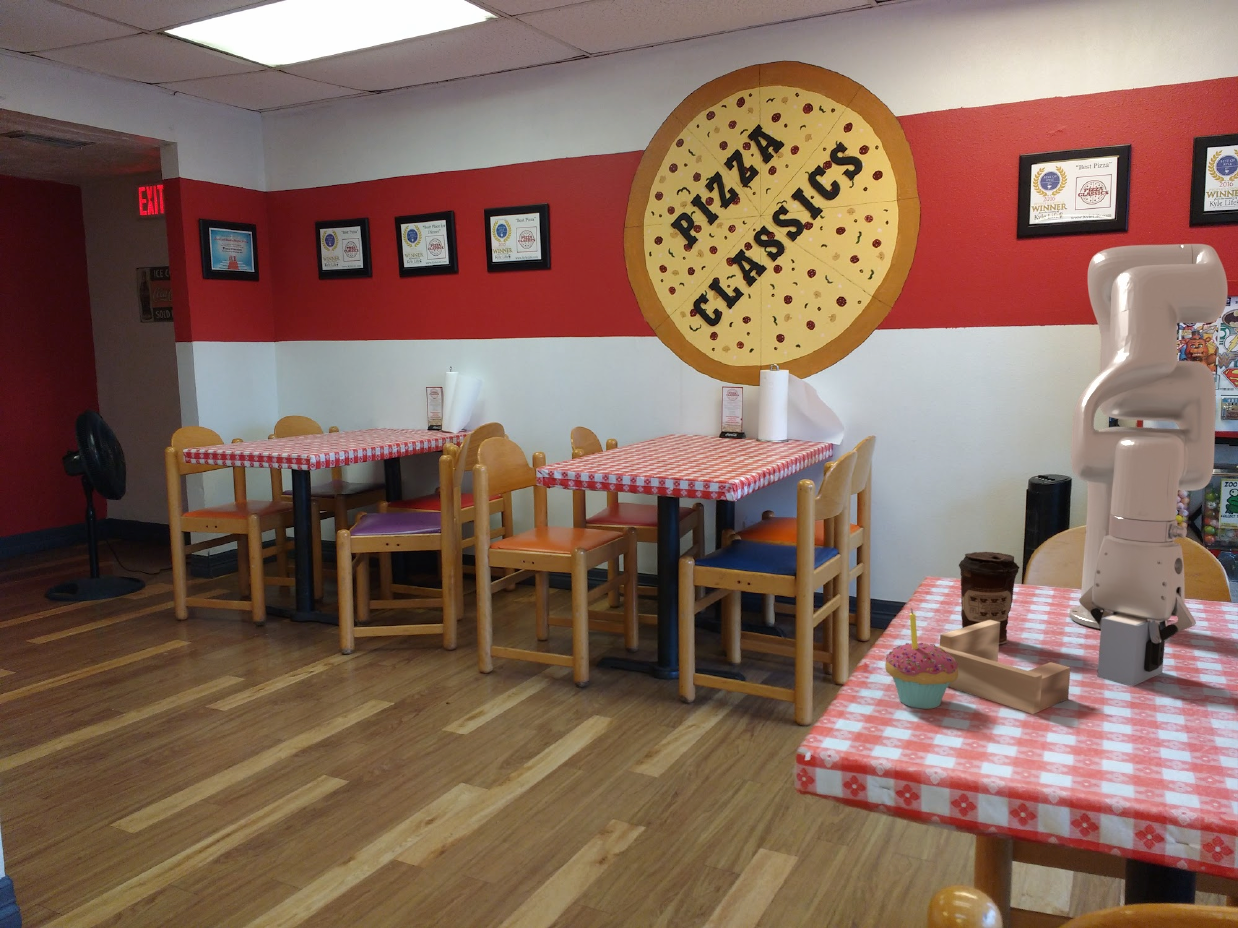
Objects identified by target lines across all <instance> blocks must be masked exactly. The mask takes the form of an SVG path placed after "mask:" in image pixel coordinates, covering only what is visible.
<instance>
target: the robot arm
mask: <svg viewBox="0 0 1238 928" xmlns="http://www.w3.org/2000/svg"><path fill="white" fill-rule="evenodd" d="M1087 288H1088V296H1089V301H1090V305H1091V308H1092V310H1093V314H1094V316H1095V319H1096V322H1097V325H1098V330H1099V333H1100V350H1099V351H1100V354H1099V372H1098V373H1099V374H1098V375H1096V377H1094V378H1093V379H1092V381H1090V382H1089V384H1088V385H1087V386H1086V387H1085V389H1084V390H1083V391H1082V393H1081V394H1080V397H1079V398H1078V401H1077V402H1076V405H1075V409H1074V411H1073V415H1072V427H1071V428H1072V429H1071V430H1072V431H1071V447H1070V460H1071V461H1070V462H1071V463H1070V464H1071V469H1072V471H1073V473H1074V475H1075V476H1076V477H1077V478H1078V479H1080V480H1081V481H1083V482H1086V484H1087V503H1086V504H1087V505H1086V507H1087V508H1086V524H1085V538H1084V549H1083V550H1084V551H1083V552H1084V553H1083V563H1082V564H1083V565H1082V579H1081V592H1080V593H1081V594H1080V598H1079V599H1078V600H1079V601H1078V603H1079V604H1080V605H1075V606H1073V607H1071V608H1070V609H1069V611H1068V612H1069V613H1068V617H1069V618H1070V619H1071V620H1072V621H1074V622H1075V623H1077V624H1081V625H1083V626H1086V627H1089V628H1093V629H1098V630H1100V631H1101V621H1102V618H1104V617H1107V616H1110V615H1112V614H1116V613H1123V614H1127V615H1132V616H1137V617H1141V618H1146V619H1147V620H1148V626H1149V632H1150V641H1148V642H1147V643H1146V650H1145V663H1144V670H1145V671H1148V672H1151V671H1153V670H1156V669H1158V668H1159V666H1161V665H1162V663H1163V664H1164V659H1163V656H1165V647H1164V644H1166V640H1168V639H1170V638H1171V637H1173V636H1175V635H1176V634H1178V633H1179V632H1181V631H1184V630H1187V629H1189V628H1191V627H1194V626H1196V625H1197V620H1196V619H1195V618H1194V616H1193V615H1192V613H1191V611H1190V610H1189V608H1188V606H1187V605H1186V603H1185V595H1186V594H1185V591H1186V590H1185V589H1186V588H1185V587H1186V585H1185V583H1186V582H1185V581H1186V580H1185V565H1184V564H1185V563H1184V556H1183V548H1182V545H1181V544H1180V543H1177V542H1175V541H1176V540H1177V539H1178V538H1183V539H1184V538H1186V537H1187V534H1188V531H1187V529H1188V528H1186V527H1183V526H1180V525H1178V520H1177V519H1176V518H1177V510H1178V509H1177V507H1178V496H1179V494H1178V493H1179V491H1187V492H1188V491H1199V490H1203V489H1204V488H1205V487H1206V486H1208V485H1209V483H1210V481H1211V480H1212V477H1213V473H1214V465H1215V463H1214V462H1215V441H1216V439H1215V438H1216V437H1215V436H1216V435H1215V434H1216V433H1215V431H1216V406H1217V403H1216V402H1217V398H1216V397H1217V396H1216V395H1217V394H1216V381H1215V377H1214V374H1213V371H1212V370H1211V368H1209V367H1208V366H1207V365H1206V364H1204V363H1202V362H1199V361H1193V360H1178V354H1177V353H1178V343H1177V342H1178V324H1208V323H1213V322H1215V321H1218V319H1220V318H1221V316H1222V315H1223V313H1224V312H1225V308H1226V306H1227V303H1228V302H1227V301H1228V280H1227V276H1226V271H1225V269H1224V266H1223V263H1222V261H1221V259H1220V257H1219V254H1218V253H1217V251H1216V250H1215V248H1214V247H1213V246H1211V245H1208V244H1203V243H1184V244H1182V243H1180V244H1178V243H1177V244H1141V245H1140V244H1139V245H1137V244H1136V245H1125V246H1124V245H1123V246H1116V247H1115V246H1114V247H1110V248H1106V249H1103V250H1101V251H1098V252H1097V253H1096V254H1094V255H1093V256H1092V258H1091V260H1090V262H1089V265H1088V269H1087ZM1099 408H1100V410H1101V412H1102V413H1103V414H1104V415H1105V416H1107V417H1108V418H1112V419H1113V418H1114V419H1118V420H1126V421H1127V420H1129V421H1147V422H1148V421H1150V422H1154V421H1156V422H1172V423H1174V424H1175V425H1177V426H1178V428H1156V427H1155V428H1153V427H1145V426H1143V427H1140V426H1139V427H1138V426H1110V427H1105V428H1101V429H1096V428H1095V424H1094V423H1095V415H1096V413H1097V410H1098V409H1099ZM1171 617H1177V621H1176V622H1173V623H1170V624H1169V625H1168V621H1167V620H1169V619H1170V618H1171Z"/></svg>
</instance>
